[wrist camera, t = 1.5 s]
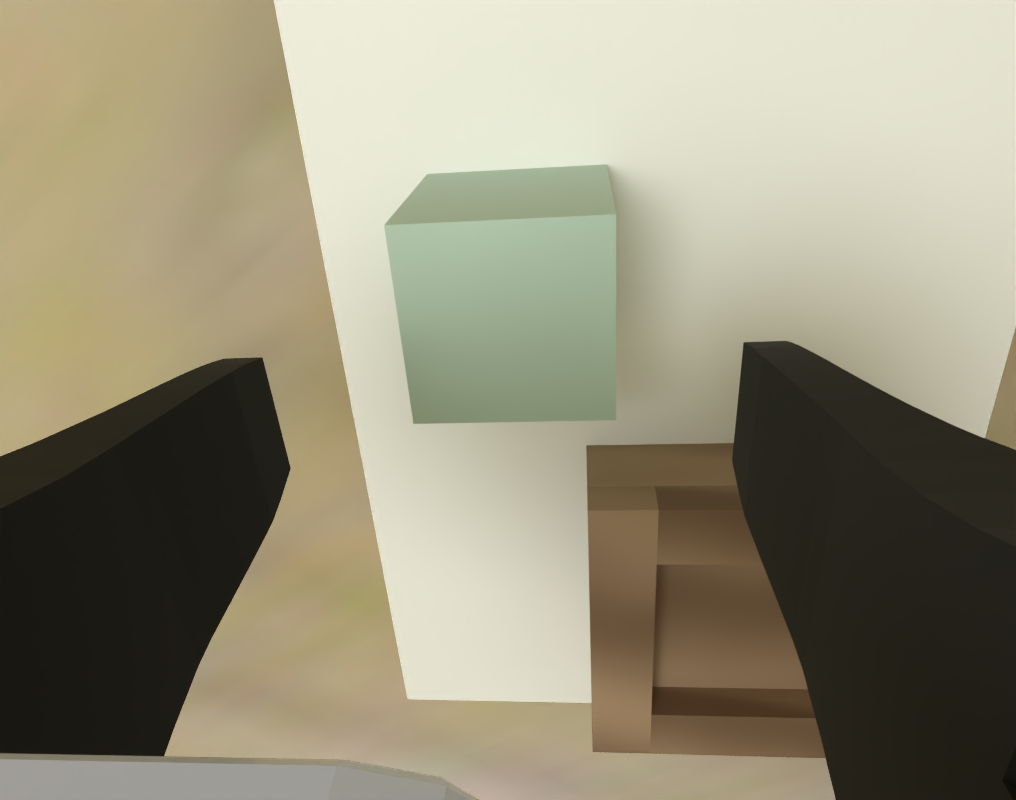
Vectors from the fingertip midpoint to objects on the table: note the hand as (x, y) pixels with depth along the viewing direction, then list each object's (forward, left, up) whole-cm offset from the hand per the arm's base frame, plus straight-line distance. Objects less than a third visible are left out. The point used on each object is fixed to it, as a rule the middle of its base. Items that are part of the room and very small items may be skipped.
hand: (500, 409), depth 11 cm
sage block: (0, 0, -8) cm, 8 cm away
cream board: (-5, -3, -9) cm, 11 cm away
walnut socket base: (-10, -6, -8) cm, 14 cm away
